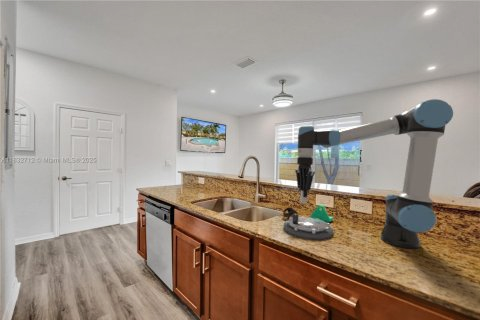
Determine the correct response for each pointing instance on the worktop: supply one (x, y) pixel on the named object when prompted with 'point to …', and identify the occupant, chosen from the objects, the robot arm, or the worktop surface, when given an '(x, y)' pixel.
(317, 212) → the camera mount
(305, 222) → the index wheel
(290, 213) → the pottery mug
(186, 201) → the worktop surface
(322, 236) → the base
